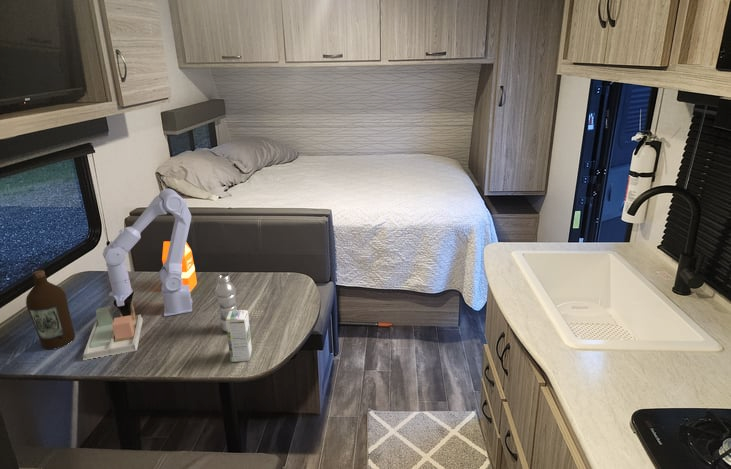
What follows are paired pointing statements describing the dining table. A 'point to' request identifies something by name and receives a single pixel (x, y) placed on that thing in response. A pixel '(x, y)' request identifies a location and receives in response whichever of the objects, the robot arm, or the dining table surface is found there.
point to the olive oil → (49, 312)
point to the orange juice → (184, 265)
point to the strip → (103, 327)
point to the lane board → (113, 344)
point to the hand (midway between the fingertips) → (127, 315)
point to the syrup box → (239, 335)
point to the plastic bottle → (225, 297)
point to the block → (123, 327)
